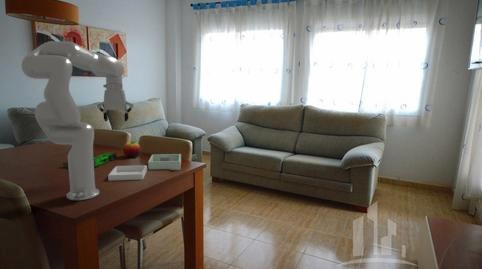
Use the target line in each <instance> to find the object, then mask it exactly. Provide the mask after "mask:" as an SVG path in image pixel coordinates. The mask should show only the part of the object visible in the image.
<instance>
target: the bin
mask: <svg viewBox="0 0 482 269" xmlns="http://www.w3.org/2000/svg"><path fill="white" fill-rule="evenodd" d="M165 155H170V161H161V160H160V157H161V156H165ZM181 163H182V154H181V153H178V154H177V153H172V154H171V153H170V154H169V153H167V154H151V156H150V158H149V159H148V162H147V170H169V171H180V170H181V165H182V164H181Z"/></svg>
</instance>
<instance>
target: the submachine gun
mask: <svg viewBox="0 0 482 269" xmlns="http://www.w3.org/2000/svg"><path fill="white" fill-rule="evenodd" d="M118 154H119V153H118V152H104V153H102V154H100V155H93V161H94V168H96V167H98V166H101V165H103V164H105V163H108V162H110V161H115V160H116V159H119V157H118V156H117V155H118ZM62 168H69V167H68V161H67V162H66V161H64V162H62Z"/></svg>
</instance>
